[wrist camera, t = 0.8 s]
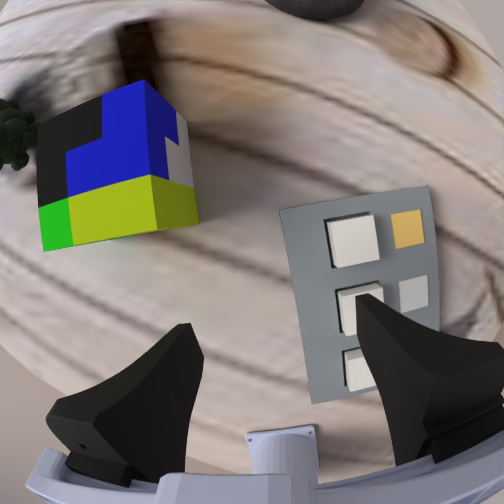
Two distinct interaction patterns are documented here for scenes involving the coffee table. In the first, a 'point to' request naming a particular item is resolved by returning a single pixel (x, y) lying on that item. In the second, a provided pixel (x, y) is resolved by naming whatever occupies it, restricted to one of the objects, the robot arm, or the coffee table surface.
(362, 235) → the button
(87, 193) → the puzzle toy
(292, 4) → the teapot
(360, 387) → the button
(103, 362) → the coffee table surface
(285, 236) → the button board
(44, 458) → the robot arm
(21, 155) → the green cactus plant
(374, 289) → the button middle
